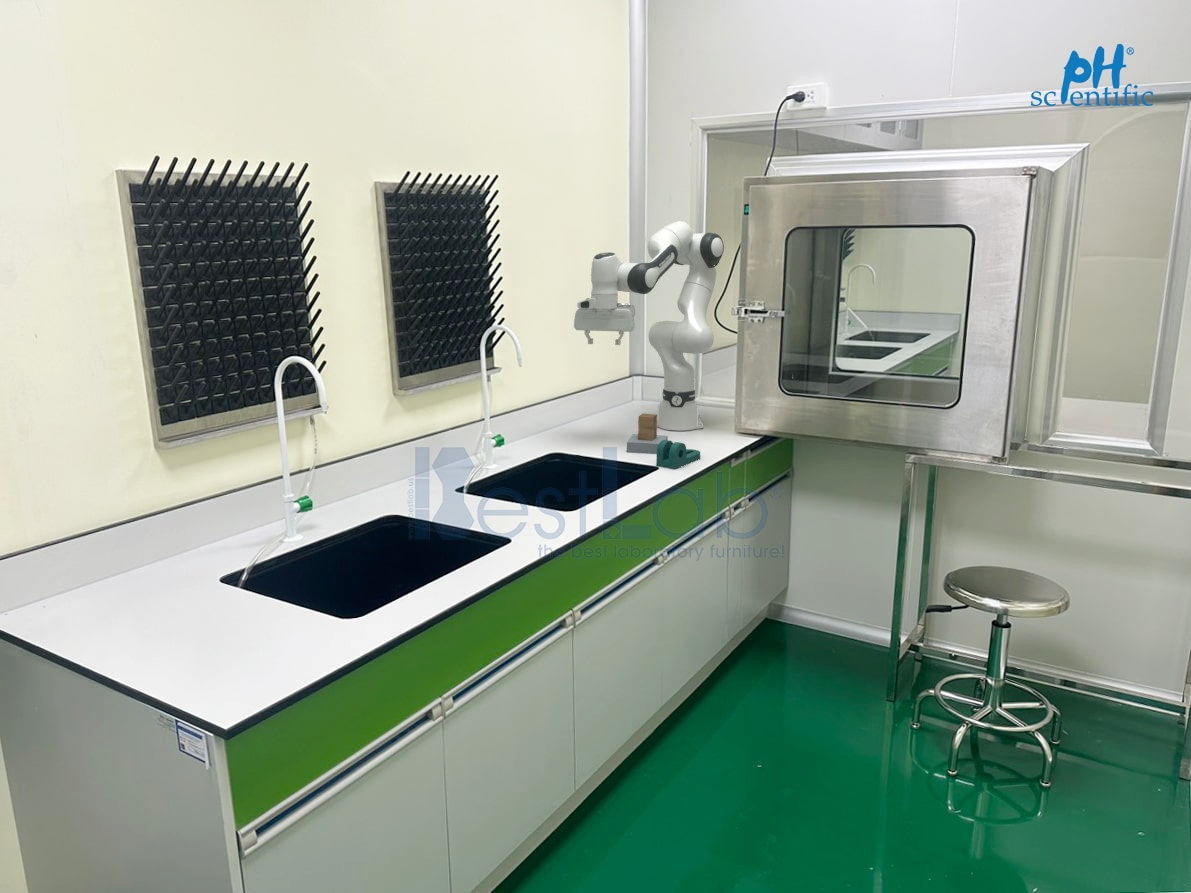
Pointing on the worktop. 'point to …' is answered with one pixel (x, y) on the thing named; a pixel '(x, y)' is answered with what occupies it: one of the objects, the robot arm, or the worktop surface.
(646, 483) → the worktop surface
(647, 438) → the walnut block
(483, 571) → the worktop surface
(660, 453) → the bracket
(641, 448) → the slate base
